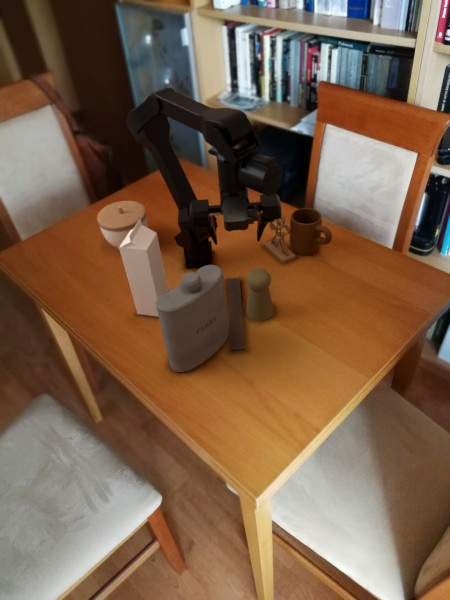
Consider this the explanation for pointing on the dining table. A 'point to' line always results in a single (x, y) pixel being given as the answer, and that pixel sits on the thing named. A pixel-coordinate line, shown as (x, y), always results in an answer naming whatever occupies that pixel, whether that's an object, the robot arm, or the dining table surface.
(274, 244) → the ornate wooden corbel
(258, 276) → the olive pepper mill
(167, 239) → the dining table surface
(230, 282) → the walnut ruler
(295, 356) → the dining table surface
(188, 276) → the flask
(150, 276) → the milk
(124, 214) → the lidded bowl
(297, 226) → the mug
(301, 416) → the dining table surface
